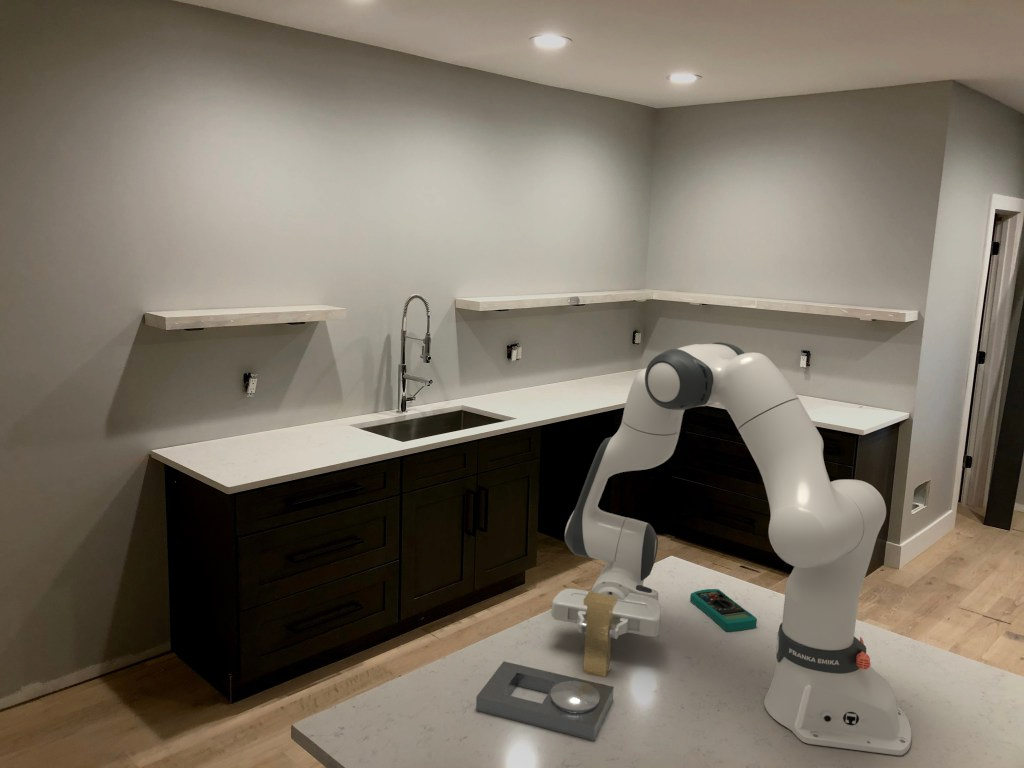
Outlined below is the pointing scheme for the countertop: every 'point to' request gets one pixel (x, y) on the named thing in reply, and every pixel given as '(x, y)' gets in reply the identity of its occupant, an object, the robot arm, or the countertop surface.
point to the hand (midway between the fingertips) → (597, 631)
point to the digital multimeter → (723, 610)
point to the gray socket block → (547, 700)
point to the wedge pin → (598, 633)
